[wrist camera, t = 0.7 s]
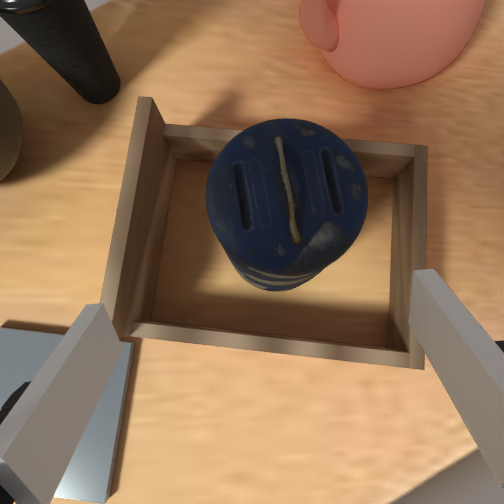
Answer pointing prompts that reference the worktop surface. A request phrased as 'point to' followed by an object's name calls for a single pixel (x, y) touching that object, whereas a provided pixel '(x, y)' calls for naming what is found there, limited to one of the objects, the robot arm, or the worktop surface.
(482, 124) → the worktop surface
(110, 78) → the drinking cup
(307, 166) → the canister
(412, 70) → the teapot
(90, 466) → the slate tile
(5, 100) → the kiwi fruit
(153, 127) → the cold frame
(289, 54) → the worktop surface
